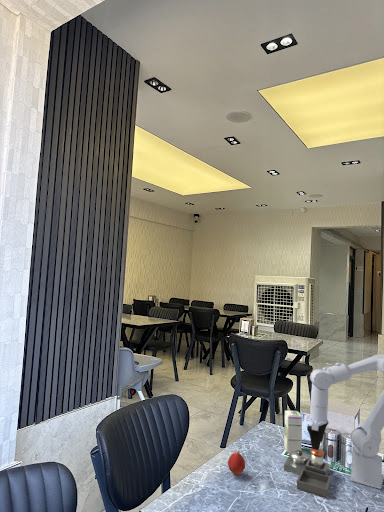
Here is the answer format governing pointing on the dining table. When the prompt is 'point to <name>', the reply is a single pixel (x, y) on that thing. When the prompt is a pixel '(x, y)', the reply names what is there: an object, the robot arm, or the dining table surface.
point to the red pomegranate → (236, 463)
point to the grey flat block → (303, 464)
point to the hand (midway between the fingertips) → (317, 445)
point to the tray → (314, 483)
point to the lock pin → (317, 458)
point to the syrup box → (292, 431)
